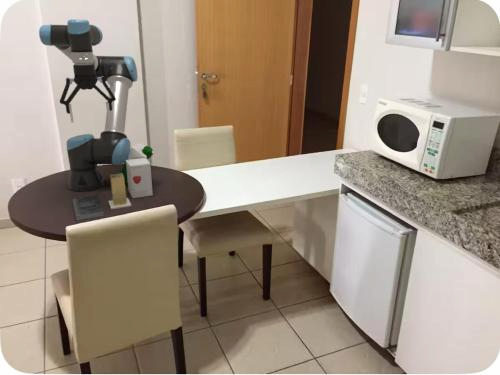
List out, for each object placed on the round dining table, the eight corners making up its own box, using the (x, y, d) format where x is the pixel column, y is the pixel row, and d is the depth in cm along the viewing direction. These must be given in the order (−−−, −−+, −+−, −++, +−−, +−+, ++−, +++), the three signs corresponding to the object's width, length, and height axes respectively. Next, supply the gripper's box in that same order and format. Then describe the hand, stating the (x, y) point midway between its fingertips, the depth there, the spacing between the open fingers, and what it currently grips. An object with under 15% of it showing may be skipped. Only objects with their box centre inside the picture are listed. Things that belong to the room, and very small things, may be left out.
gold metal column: (112, 201, 177) (109, 174, 173) (125, 199, 179) (122, 173, 175) (114, 206, 173) (111, 178, 168) (126, 204, 175) (124, 176, 170)
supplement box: (132, 198, 182) (128, 165, 176) (128, 191, 189) (125, 159, 184) (153, 195, 185) (150, 162, 180) (148, 188, 193) (146, 157, 187)
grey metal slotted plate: (73, 203, 177) (72, 198, 176) (98, 199, 181) (97, 195, 180) (76, 220, 161) (75, 215, 161) (103, 216, 165) (103, 211, 165)
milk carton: (130, 187, 195) (147, 154, 185) (115, 175, 196) (131, 142, 186) (141, 181, 203) (157, 149, 193) (126, 170, 203) (142, 137, 194)
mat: (108, 202, 178) (108, 200, 178) (128, 199, 181) (127, 198, 181) (111, 209, 171) (111, 208, 171) (131, 206, 174) (131, 204, 174)
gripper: (47, 66, 150) (56, 125, 157) (119, 63, 160) (125, 119, 167) (46, 64, 156) (56, 121, 164) (116, 62, 166) (122, 115, 174)
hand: (91, 120), depth 166 cm, fingers open, 13 cm apart
